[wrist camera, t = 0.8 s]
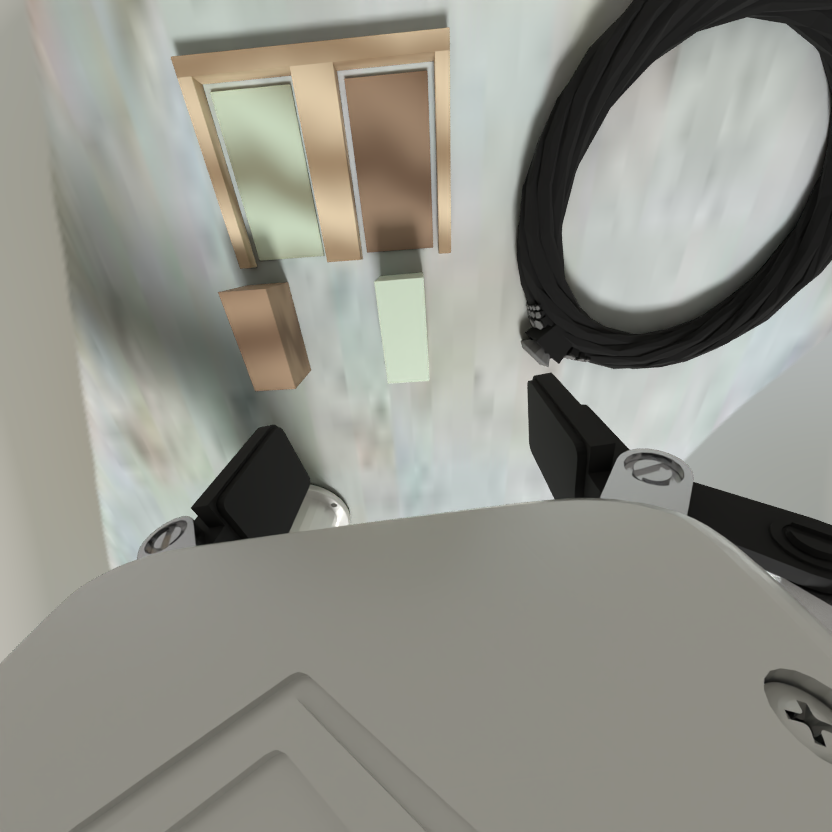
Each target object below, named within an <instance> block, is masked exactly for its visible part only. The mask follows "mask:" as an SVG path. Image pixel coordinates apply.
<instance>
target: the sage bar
mask: <svg viewBox="0 0 832 832" xmlns="http://www.w3.org/2000/svg"><path fill="white" fill-rule="evenodd" d="M374 285H375V292H376V299H377V307H378V314H379V321H380V329H381V336H382V344H383V351H384V358H385V366H386V373H387V380H388V384H390V383H405V382H420V381H429V363H428V346H427V329H426V312H425V295H424V277H423V272H421V273H409V274H397V275H386V276H380V277H379V278H378V279H377V280H375V281H374Z"/></svg>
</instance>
